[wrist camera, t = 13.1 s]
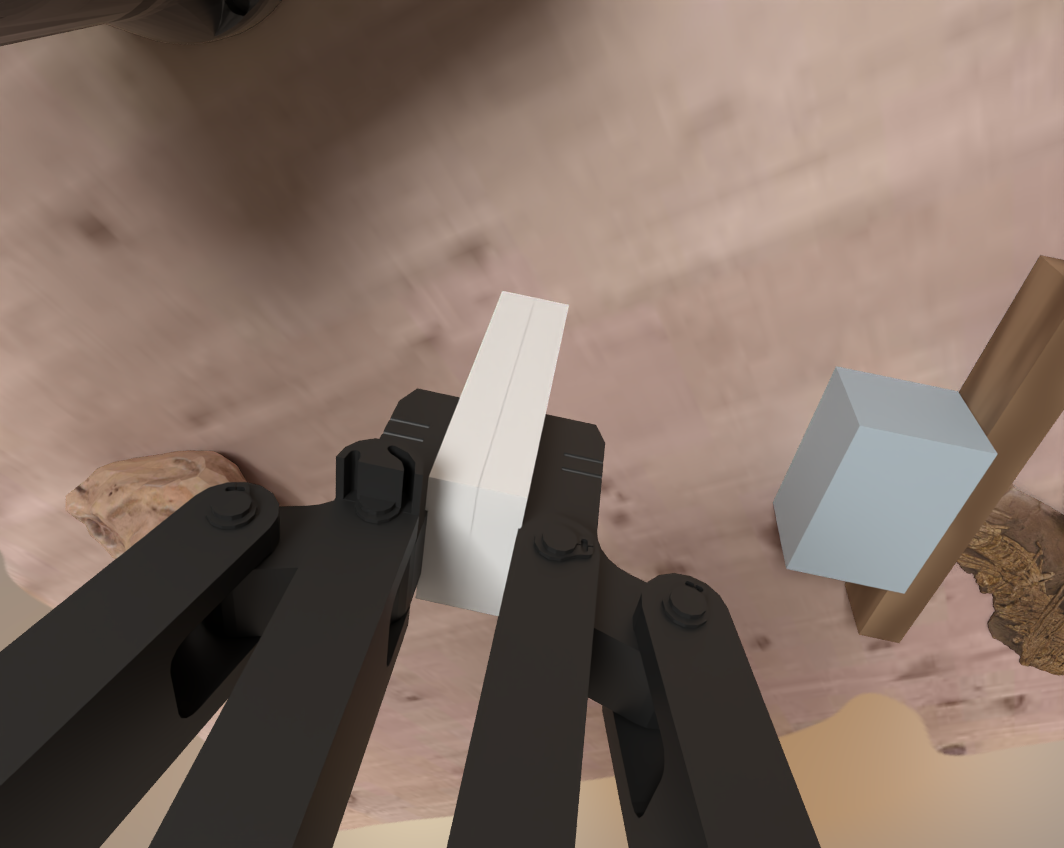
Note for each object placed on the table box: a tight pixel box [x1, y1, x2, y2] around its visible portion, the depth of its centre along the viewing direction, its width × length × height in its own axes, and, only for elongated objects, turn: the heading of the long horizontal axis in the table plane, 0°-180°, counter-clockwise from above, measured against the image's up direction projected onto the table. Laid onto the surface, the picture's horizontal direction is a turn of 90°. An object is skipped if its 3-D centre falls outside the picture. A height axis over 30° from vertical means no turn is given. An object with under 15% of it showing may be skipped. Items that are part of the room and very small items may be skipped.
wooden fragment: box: [957, 484, 1064, 675], centre depth 56 cm, size 26×11×1 cm, turn 36°
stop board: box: [845, 255, 1064, 643], centre depth 48 cm, size 3×28×5 cm, turn 171°
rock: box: [66, 451, 246, 559], centre depth 58 cm, size 18×10×10 cm, turn 116°
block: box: [773, 366, 997, 594], centre depth 49 cm, size 8×12×7 cm, turn 171°
